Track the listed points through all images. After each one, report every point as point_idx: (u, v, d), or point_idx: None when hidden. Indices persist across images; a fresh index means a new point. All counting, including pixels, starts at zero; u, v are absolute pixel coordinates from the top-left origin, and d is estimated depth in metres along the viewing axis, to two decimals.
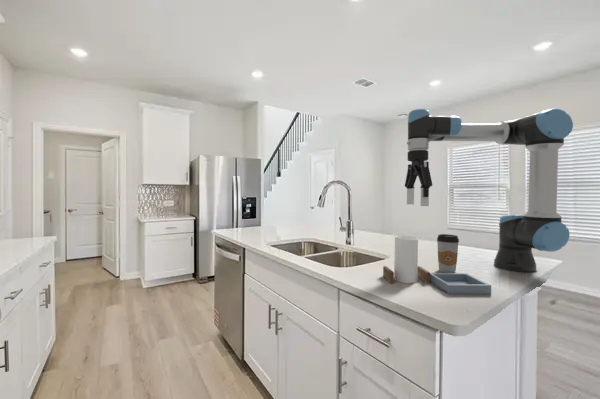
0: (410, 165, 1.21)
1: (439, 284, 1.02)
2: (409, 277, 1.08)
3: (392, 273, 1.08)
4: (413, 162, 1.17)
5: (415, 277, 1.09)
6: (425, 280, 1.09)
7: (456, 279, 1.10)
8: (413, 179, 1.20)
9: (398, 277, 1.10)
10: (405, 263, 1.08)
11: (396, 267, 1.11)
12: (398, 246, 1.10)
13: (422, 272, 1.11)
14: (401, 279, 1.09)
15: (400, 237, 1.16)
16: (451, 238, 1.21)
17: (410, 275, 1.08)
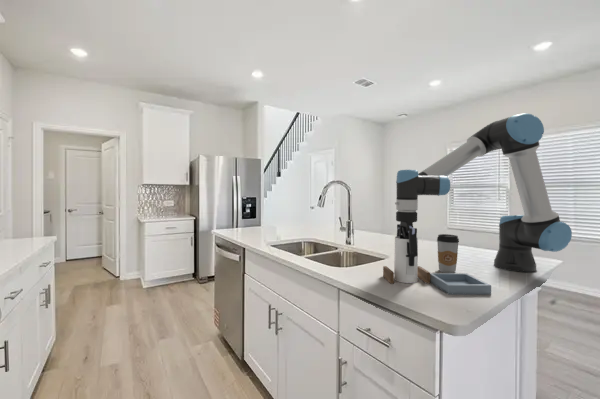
0: (399, 225, 1.17)
1: (439, 284, 1.02)
2: (409, 277, 1.08)
3: (392, 273, 1.08)
4: None
5: (415, 277, 1.09)
6: (425, 280, 1.09)
7: (456, 279, 1.10)
8: None
9: (398, 277, 1.10)
10: (405, 263, 1.08)
11: (396, 267, 1.11)
12: (398, 246, 1.10)
13: (422, 272, 1.11)
14: (401, 279, 1.09)
15: None
16: (451, 238, 1.21)
17: (410, 275, 1.08)
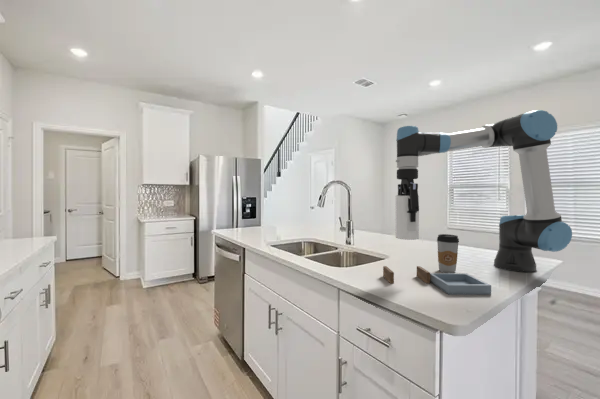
0: (400, 185, 1.17)
1: (439, 284, 1.02)
2: (411, 234, 1.08)
3: (392, 273, 1.08)
4: (402, 179, 1.13)
5: (417, 234, 1.09)
6: (425, 280, 1.09)
7: (456, 279, 1.10)
8: None
9: (399, 234, 1.10)
10: (406, 220, 1.08)
11: (397, 225, 1.11)
12: (399, 203, 1.10)
13: (422, 272, 1.11)
14: (402, 236, 1.09)
15: None
16: (451, 238, 1.21)
17: (411, 232, 1.08)
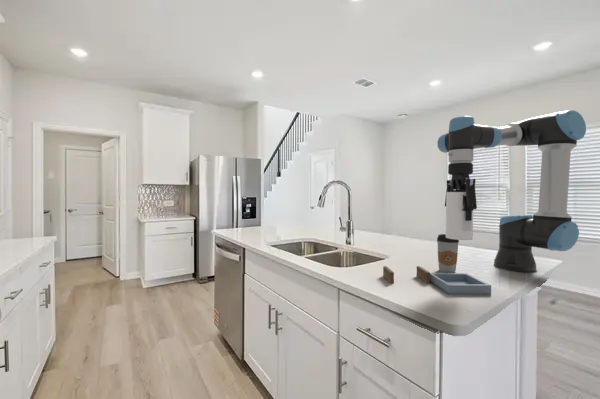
0: (449, 180, 1.08)
1: (439, 284, 1.02)
2: (465, 234, 0.99)
3: (392, 273, 1.08)
4: (454, 175, 1.04)
5: (471, 234, 1.00)
6: (425, 280, 1.09)
7: (456, 279, 1.10)
8: None
9: (451, 234, 1.01)
10: (460, 218, 0.99)
11: (449, 224, 1.02)
12: (452, 200, 1.01)
13: (422, 272, 1.11)
14: (456, 236, 1.00)
15: None
16: None
17: (466, 231, 0.99)
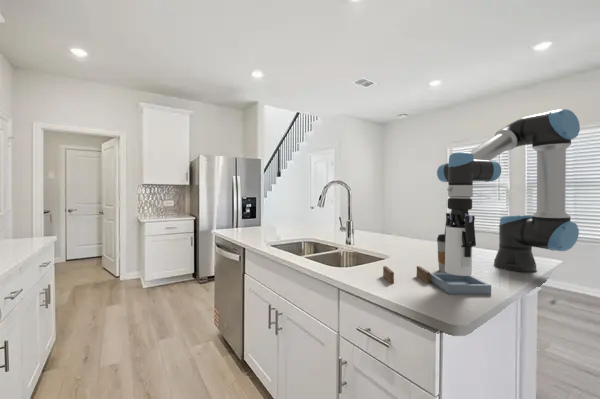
0: (449, 213, 1.08)
1: (439, 284, 1.02)
2: (464, 270, 0.99)
3: (392, 273, 1.08)
4: (453, 209, 1.05)
5: (470, 269, 1.00)
6: (425, 280, 1.09)
7: (456, 279, 1.10)
8: None
9: (450, 269, 1.01)
10: (459, 254, 0.99)
11: (448, 259, 1.02)
12: (451, 236, 1.01)
13: (422, 272, 1.11)
14: (455, 271, 1.00)
15: None
16: None
17: (465, 267, 0.99)
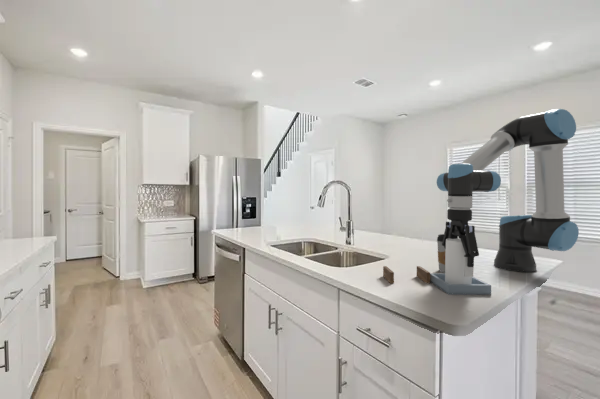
0: (449, 222, 1.09)
1: (439, 284, 1.02)
2: (464, 283, 0.99)
3: (392, 273, 1.08)
4: (453, 220, 1.04)
5: (470, 283, 1.00)
6: (425, 280, 1.09)
7: None
8: None
9: (451, 282, 1.01)
10: (460, 268, 1.00)
11: (448, 272, 1.02)
12: (451, 249, 1.01)
13: (422, 272, 1.11)
14: None
15: (450, 239, 1.07)
16: None
17: (465, 281, 0.99)
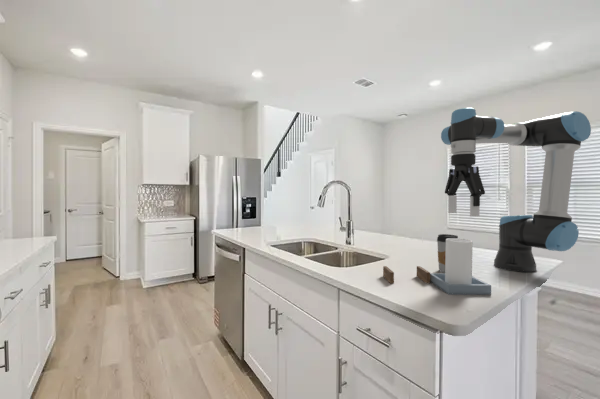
0: (452, 170, 1.10)
1: (439, 284, 1.02)
2: (464, 283, 0.99)
3: (392, 273, 1.08)
4: (457, 167, 1.06)
5: (470, 283, 1.00)
6: (425, 280, 1.09)
7: None
8: (456, 185, 1.09)
9: (451, 282, 1.01)
10: (460, 268, 1.00)
11: (448, 272, 1.02)
12: (451, 249, 1.01)
13: (422, 272, 1.11)
14: None
15: (450, 239, 1.07)
16: None
17: (465, 281, 0.99)
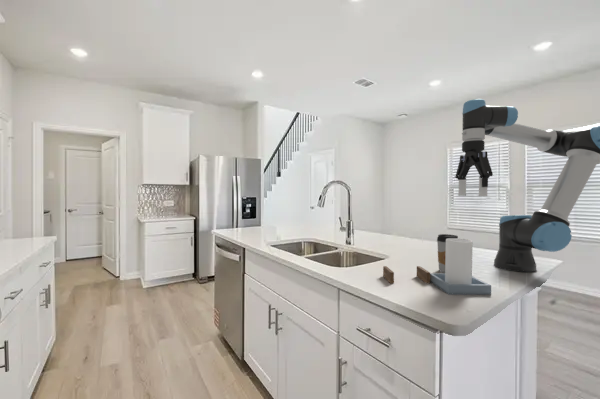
0: (463, 156, 1.21)
1: (439, 284, 1.02)
2: (464, 283, 0.99)
3: (392, 273, 1.08)
4: (468, 153, 1.17)
5: (470, 283, 1.00)
6: (425, 280, 1.09)
7: None
8: (466, 170, 1.20)
9: (451, 282, 1.01)
10: (460, 268, 1.00)
11: (448, 272, 1.02)
12: (451, 249, 1.01)
13: (422, 272, 1.11)
14: None
15: (450, 239, 1.07)
16: None
17: (465, 281, 0.99)
